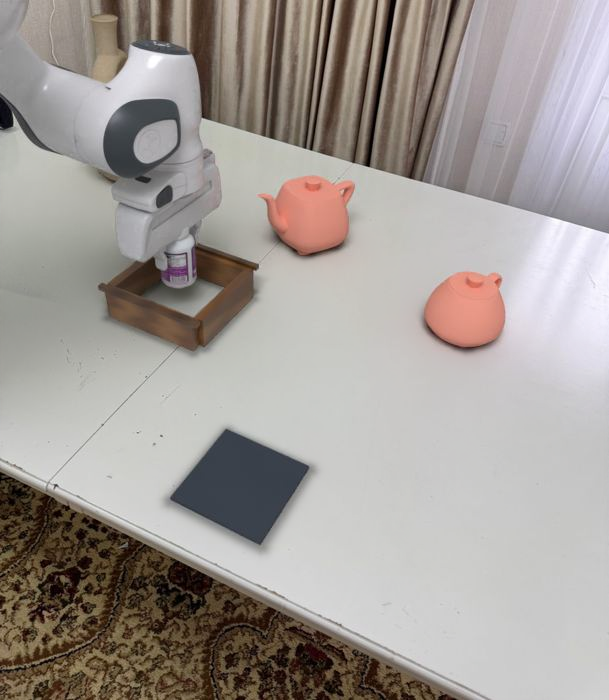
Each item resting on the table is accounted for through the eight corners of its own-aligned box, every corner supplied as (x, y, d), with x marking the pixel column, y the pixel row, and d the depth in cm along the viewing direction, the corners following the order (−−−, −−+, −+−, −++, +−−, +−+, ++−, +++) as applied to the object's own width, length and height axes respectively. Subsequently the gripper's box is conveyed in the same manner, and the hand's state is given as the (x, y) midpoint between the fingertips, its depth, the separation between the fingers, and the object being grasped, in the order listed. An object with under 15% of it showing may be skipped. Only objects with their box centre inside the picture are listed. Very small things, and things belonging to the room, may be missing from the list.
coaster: (170, 499, 72) (169, 497, 71) (226, 430, 80) (226, 428, 80) (260, 545, 68) (260, 543, 68) (309, 468, 76) (309, 465, 76)
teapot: (240, 236, 115) (239, 175, 106) (329, 212, 123) (335, 154, 115) (276, 273, 107) (279, 210, 98) (369, 245, 115) (378, 184, 107)
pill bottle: (176, 265, 98) (172, 211, 92) (203, 277, 97) (201, 222, 90) (154, 281, 95) (147, 226, 88) (181, 294, 93) (177, 238, 87)
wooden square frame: (103, 315, 96) (97, 285, 92) (171, 260, 108) (169, 232, 104) (197, 354, 90) (195, 324, 87) (258, 292, 102) (259, 264, 99)
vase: (97, 155, 135) (71, 1, 115) (173, 161, 135) (160, 9, 115) (72, 191, 123) (39, 26, 103) (157, 198, 123) (139, 34, 103)
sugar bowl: (405, 323, 99) (417, 270, 92) (461, 293, 106) (476, 241, 99) (465, 366, 92) (483, 312, 85) (521, 330, 99) (541, 278, 92)
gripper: (195, 138, 92) (198, 221, 101) (101, 193, 78) (116, 283, 87) (231, 149, 90) (232, 232, 99) (142, 207, 76) (152, 298, 85)
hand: (177, 256), depth 93 cm, fingers closed on pill bottle, 5 cm apart
